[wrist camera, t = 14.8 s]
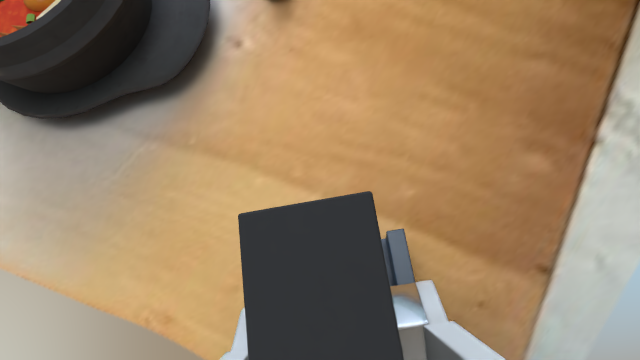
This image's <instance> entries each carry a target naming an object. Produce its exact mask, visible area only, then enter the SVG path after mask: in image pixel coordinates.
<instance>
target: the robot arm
mask: <svg viewBox="0 0 640 360" xmlns="http://www.w3.org/2000/svg"><path fill="white" fill-rule="evenodd" d="M390 289H391V294H392V299H393V304H394V310H395V315H396V320H397V325H398V331H399V336H400V341H401V346H402V351H403V357H404V360H506V359H505V358H503V357H502V356H501V355H499V354H498V353H496V352H495V351H494V350H492V349H491V348H490V347H488V346H487V345H486V344H484V343H483V342H482V341H480V340H479V339H477V338H476V337H475V336H473V335H472V334H471V333H469V332H468V331H467V330H465V329H464V328H463V327H461V326H460V325H458V324H457V323H456V322H454V321H451V322H449V321H448V318H447V316H446V313H445V311H444V308H443V306H442V303H441V300H440V298H439V295H438V293H437V290H436V288H435V285H434V283H433V281H432V280H426V281H420V282H415V283H408V284H401V285H395V286H390ZM220 360H248V346H247V332H246V318H245V307H244V308H243V309H242V311H241V313H240V317H239V321H238V325H237V329H236V333H235V337H234V341H233V345H232V349H231V352H226V353H225V354H224V355H223V356H222V357H221V359H220Z"/></svg>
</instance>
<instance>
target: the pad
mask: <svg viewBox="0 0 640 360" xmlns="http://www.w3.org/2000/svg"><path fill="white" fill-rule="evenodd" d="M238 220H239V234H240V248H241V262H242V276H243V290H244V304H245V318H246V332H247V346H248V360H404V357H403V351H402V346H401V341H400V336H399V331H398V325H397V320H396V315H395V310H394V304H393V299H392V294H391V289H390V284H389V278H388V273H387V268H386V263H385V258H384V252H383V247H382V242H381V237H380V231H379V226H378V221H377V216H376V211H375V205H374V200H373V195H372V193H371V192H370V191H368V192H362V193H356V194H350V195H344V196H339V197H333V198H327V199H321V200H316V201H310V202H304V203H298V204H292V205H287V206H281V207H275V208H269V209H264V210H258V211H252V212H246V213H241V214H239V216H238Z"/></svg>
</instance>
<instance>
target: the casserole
mask: <svg viewBox="0 0 640 360" xmlns="http://www.w3.org/2000/svg"><path fill="white" fill-rule="evenodd" d="M209 9H210V0H0V102H1V103H2V104H3V105H5V106H6V107H7V108H8V109H10V110H13V111H15V112H17V113H19V114H22V115H24V116H30V117H36V118H41V119H42V118H62V117H66V116H70V115H75V114H79V113H83V112H85V111H87V110H90V109H92V108H94V107H96V106H99V105H101V104H103V103H106V102H108V101H110V100H113V99H115V98H117V97H119V96H122V95H125V94H129V93H133V92H137V91H142V90H145V89H149V88H152V87H156V86H159V85H163V84H165V83H166V82H168V81H169V80H170V79H172V78H173V77H175V76H176V75H178V74H179V73H180V72H181V71H182V69H183V68H184V67H185V66H186V65H187V64H188V62H189V61H190V60H191V58H192V57H193V55H194V53H195V51H196V50H197V48H198V46H199V44H200V43H201V40H202V37H203V35H204V32H205V29H206V26H207V24H208V16H209Z"/></svg>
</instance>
